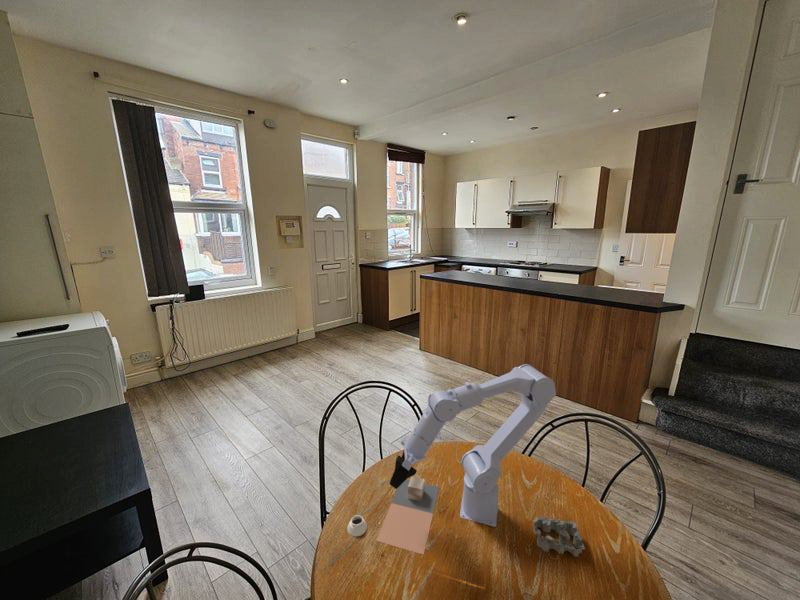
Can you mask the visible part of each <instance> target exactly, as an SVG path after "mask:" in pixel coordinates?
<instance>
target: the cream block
mask: <svg viewBox="0 0 800 600" xmlns="http://www.w3.org/2000/svg"><path fill="white" fill-rule="evenodd" d="M409 480H410V482H409V485H408V498H409V499H413V500H417V501H422V498H423V494H424V486H425V484H426V482H425V478H419V477H415V476H411V477H410V479H409Z"/></svg>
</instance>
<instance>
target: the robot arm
mask: <svg viewBox="0 0 800 600" xmlns="http://www.w3.org/2000/svg"><path fill="white" fill-rule="evenodd" d="M509 392H517V393H519V394H520V398H521V399H520V400H521V403H520V404H519V405H518V406H517V408H516V409H515V410H514V411H513V412H512V413H511V414H510V416H509V417H508V418H507V419H506V420H505V421H504V423H503V424H502V425H501V426H499V428H498V430H497V431H496V432H495V433H494V434H493V435H492V436H491V437H490V439H489V440H488V441H487V442H486V443H485V444H484V445H480V444H478V445H477V444H476V445H475V446H474V447H473V448H472V449H471V450H469V451H467V452H466V453H464V454H463V456H462V458H461V461H460V462H461V467H462V468H463V469H464V476H463V492H462V493H463V495H462V496H461V497H462V498H461V503H460V511H459V517H460V518H461V519H465V520H468V521H472V522H476V523H480V524H484V525H486V526H490V527H494V528H496V527H497V523H498V521H497V519H498V513H499V484H497V481H498V480H499V478H500V477H502V461H503V460H504V459H505V458H506V457H507V455H508V454H509V453H510V452H511V451H512V450H513V449H514V448H515V446H517V444H518V443H519V442H520V441H521V439H522V438H524V436H525V435H526V434H527V432H529V430H530V429H531V428H532V427H533V426H534V425H535V423H536V422H537V421H538V420H539V419H540V418H541V416H542V415H544V413H545V411H546V409H547V407H548V404H550V402H551V401H552V400H553V399H554V398H555V397H556V395H557V391H556V384H555V381H554V380H553V379H552V378H550V377H548V376H546V375H544V373H542V372H540V371H539V370H537V368H535V367H534V366H533V365H531V364H528V363H525V364H521V365H519V366H515V367H513V368H512V369H511V371H510V372H507V373H505V374H503V375H500V376H498V377H495V378H493V379H491V380H488V381H486V382H483V383H481V384H477V383H475V382H469V381H467V382H465V383H464V384H463V385H461V386H458V387H456V388H455V387H454V388H452V389H451V388H449V389H447V390H442V389H441V390H436V391H434V392H433V393H432V394H429V395H428V398H427V399H428V400H427V402H428V404H427V407H426V408H425V410H424V411H423V414H422V415H421V416H420V419H419V420H418V422H417V423H416V425H415V427H414V428H413V430H412V431H411V434H410V435H409V437H408V438H407V439H405V438H402V439H401V440H400V444H401V445H402V447H403V452H402V455H399V454H398V455H397V456H396V459H395V462H394V463H395V465H394V471H393V473H392V475H391V479H390V480H389V481H390V482H389V485H390V486H391V487H392V488H394V489H395V490H397V488H398V487H399V486H400V485H401V484H402V483H403V482H404V481H405V480H406V479H407V480H409V478H411V476H412V477H415V475H416V474H417V473H418V471H417V469H415V468H414V467H413V465H415V464H417V463H420V462H422V461H423V460H424V459H425V458H426V455H427V453H428V451H429V450H430V448H431V446H432V445H433V443H434V442H435V441H436V439H437V437H438V435H439V434H440V433H441V430H442V429H443V427H444V426H445V424H446V423H447V422H452V421H453V420H454V419H455V418H456V417H457V416H458V415H459V414H461V412H463V411H466V410H468V409H469V410H470V409H471V408H472V409H473V408H476V407H478V406H481V405H482V404H483V402H484V400H485V399H486V398H491V397H494V396H497V395H501V394H505V393H509Z"/></svg>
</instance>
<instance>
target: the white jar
mask: <svg viewBox="0 0 800 600" xmlns="http://www.w3.org/2000/svg"><path fill="white" fill-rule="evenodd" d="M356 520H360V521H361V522H359V523H357V524H356V523H353V522H354V521H356ZM346 528H347V529H346V530H347V531H346V532H347V533H348V535H350V536H352V537H355V538H356V537H360V536H362V535H364V534H365V533H366V531H367V529H368V523H367V522H366V521H365V519H364V518H363V516H362V515H359V514H358V515H357V514H356V515H353V517H352V518H351V519H350V521H349V522H348V524H347V527H346Z"/></svg>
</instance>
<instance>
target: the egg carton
mask: <svg viewBox="0 0 800 600" xmlns="http://www.w3.org/2000/svg"><path fill="white" fill-rule="evenodd" d="M532 521H533V534H534V535H535V536H537V538H536V545H537V547H539V548H541V549H542V550H543V551H544V552H546V553H547V552H549V551H550V550H551V549H553V550H554V551H556V552H557V553H558V554H562V555H564V552H569V553H570V554H572V555H573V557H579V554H582V553H583V550H586V548H585V546H584V543H583V539H582V536H581V534H580V530H579V528H578V526H577V523H576V522H575V521H564V520H560V519H559V518H557V519H556V518H555V519H554V518H548V517H544V516H542V515H538V516H535V517H534V518H533V520H532ZM539 528H540V529H541V530H542V531H543V532H545V533H550V532H551V531H552V530H554V531H555V532H556V533H557V534H558V535H559V536H558V540H555V539H554V538H553V537H552V536H549V535H546V536H542V532H541V530H540V529H539ZM570 535H571V536H570ZM571 537H573V540H572V541H573V542H572V543H573V544H571V543H570V541H571Z"/></svg>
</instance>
